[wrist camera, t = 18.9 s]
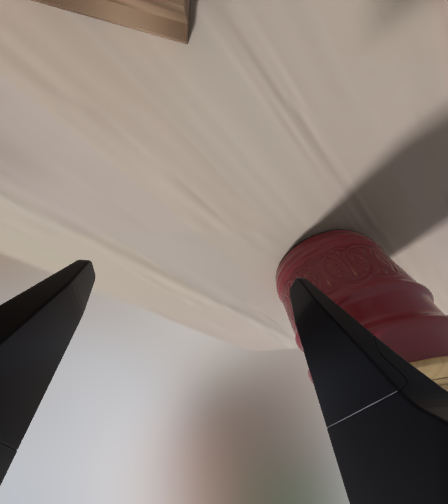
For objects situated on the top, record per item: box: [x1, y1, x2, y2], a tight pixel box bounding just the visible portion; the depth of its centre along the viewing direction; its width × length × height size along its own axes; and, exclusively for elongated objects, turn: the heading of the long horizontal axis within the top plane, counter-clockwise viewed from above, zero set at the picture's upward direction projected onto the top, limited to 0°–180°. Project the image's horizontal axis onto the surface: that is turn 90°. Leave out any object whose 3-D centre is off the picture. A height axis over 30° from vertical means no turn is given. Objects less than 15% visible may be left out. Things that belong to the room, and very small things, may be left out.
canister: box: [276, 230, 448, 391], centre depth 20 cm, size 13×13×18 cm
